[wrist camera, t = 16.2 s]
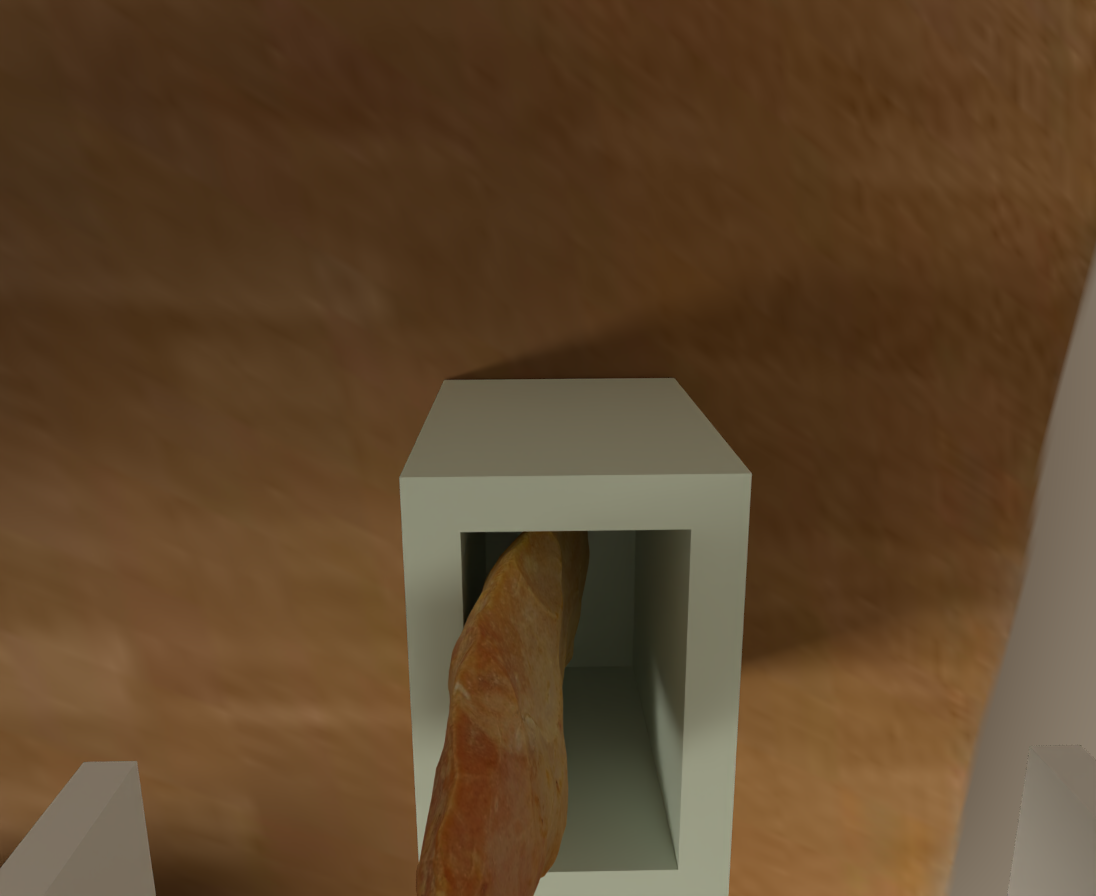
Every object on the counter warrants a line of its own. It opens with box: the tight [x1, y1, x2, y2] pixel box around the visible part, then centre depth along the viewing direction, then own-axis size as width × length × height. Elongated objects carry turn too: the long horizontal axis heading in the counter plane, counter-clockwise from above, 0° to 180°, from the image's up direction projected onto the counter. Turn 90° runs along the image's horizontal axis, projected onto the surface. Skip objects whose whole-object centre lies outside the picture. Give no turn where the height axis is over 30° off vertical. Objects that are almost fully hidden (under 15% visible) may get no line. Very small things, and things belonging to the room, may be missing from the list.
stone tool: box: [416, 531, 590, 896], centre depth 17 cm, size 5×2×15 cm, turn 6°
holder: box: [399, 378, 752, 896], centre depth 21 cm, size 6×9×9 cm, turn 0°
